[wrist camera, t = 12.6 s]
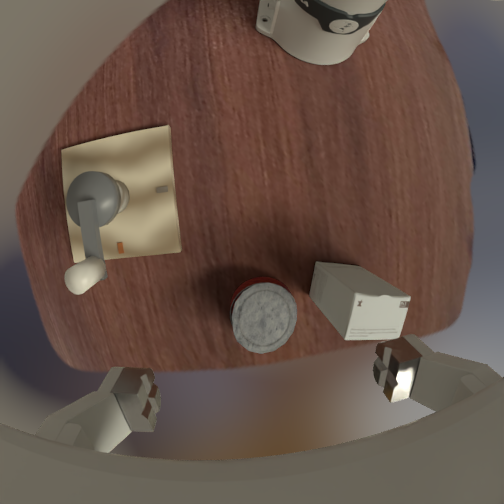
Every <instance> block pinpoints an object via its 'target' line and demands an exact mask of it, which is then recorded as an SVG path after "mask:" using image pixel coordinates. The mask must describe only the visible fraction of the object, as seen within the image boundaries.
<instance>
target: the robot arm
mask: <svg viewBox="0 0 504 504" xmlns="http://www.w3.org/2000/svg"><path fill="white" fill-rule="evenodd" d="M386 1H387V0H260V1H259V8H258V14H257V20H256V30H257V31H258V32H260V33H262V34H264V35H266V36H268V37H270V38H272V39H273V40H275V41H276V42H277V43H278V44H279V45H280V46H281V47H282V48H283V49H284V50H285V51H287V52H288V53H289V54H291V55H292V56H294V57H296V58H298V59H300V60H303V61H305V62H309V63H313V64H319V65H331V64H336V63H340V62H342V61H344V60H346V59H347V58H349V57H350V56H351V55H352V53H353V52H354V50H355V48H356V47H357V45H359V44H361V43H363V42H365V41H366V40H367V39H368V37H369V32H368V31H369V29H370V28H371V26H372V25H373V24H374V22H375V21H376V19H377V17H378V16H379V15H380V13H381V11H382V10H383V8H384V6H385V2H386ZM262 20H266V21H267V22H264V21H262ZM375 353H376V354H377V356H378V358H377V359H376V360H375V362H374V366H373V373H374V378H375V381H376V382H377V384H378V385H379V386H382V387H384V390H383V393H384V394H385V396H386V397H387V399H388V400H389V402H390V403H392V402H395V401H399V400H402V399H406V398H409V397H410V398H411V399H413V400H415V401H416V402H418V403H420V404H422V405H424V406H426V407H428V408H430V409H432V410H434V411H436V412H435V413H433V414H430V415H428V416H426V417H423V418H421V419H418V420H416V421H413V422H410V423H408V424H405V425H402V426H400V427H397V428H394V429H391V430H388V431H385V432H381V433H378V434H375V435H371V436H368V437H365V438H361V439H357V440H353V441H350V442H346V443H341V444H337V445H333V446H328V447H324V448H319V449H313V450H308V451H303V452H297V453H290V454H283V455H276V456H267V457H259V458H247V459H232V460H231V459H230V460H169V459H155V458H144V457H134V456H126V455H118V454H112V453H109V452H110V451H111V450H112V449H113V448H114V447H116V445H118V444H119V443H120V442H121V441H122V440H123V439H124V438H125V437H126V436H128V435H129V434H130V433H131V431H143V432H153V431H154V428H155V424H156V420H157V418H156V416H155V414H156V413H157V412H159V410H160V405H161V397H160V392H159V388H158V387H157V386H156V385H155V384H154V383H153V382H154V379H155V376H154V373H153V370H152V369H151V368H134V367H112V368H111V369H110V371H109V372H108V374H107V376H106V378H105V379H104V381H103V383H102V384H101V386H100V387H99V389H98V391H97V392H94V391H93V392H92V393H90V394H88V395H87V396H84V397H83V398H81V399H79V400H77V401H75V402H74V403H72V404H70V405H68V406H66V407H64V408H62V409H61V410H59V411H57V412H55V413H53V414H51V415H49V416H47V417H46V419H45V420H44V422H43V423H42V425H41V426H40V428H39V430H38V431H37V433H36V434H35V435H32V434H29V433H26V432H23V431H20V430H18V429H15V428H12V427H10V426H7V425H4V424H2V423H0V504H504V377H503V378H502V377H501V376H500V375H499V374H497V373H496V372H495V371H494V370H493V369H491V368H490V367H489V366H488V365H487V364H483V363H479V362H475V361H471V360H466V359H463V358H459V357H454V356H451V355H448V354H443V353H440V352H436V353H434V352H433V351H432V350H431V349H430V348H429V347H428V346H427V345H425V344H424V343H423V342H422V341H421V340H420V339H419V338H418V337H417V336H415V335H414V334H409V335H406V336H402V337H400V338H396V339H392V340H388V341H384V342H380V343H378V344H377V346H376V352H375Z"/></svg>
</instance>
